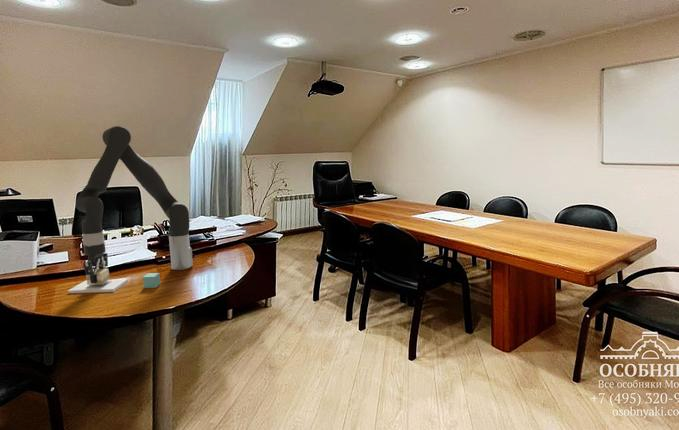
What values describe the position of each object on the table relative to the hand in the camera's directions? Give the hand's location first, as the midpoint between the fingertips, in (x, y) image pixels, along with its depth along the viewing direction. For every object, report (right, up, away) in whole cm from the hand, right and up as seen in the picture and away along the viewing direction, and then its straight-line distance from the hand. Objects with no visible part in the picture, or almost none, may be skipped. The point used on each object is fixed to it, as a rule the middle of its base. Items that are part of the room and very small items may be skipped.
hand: (98, 280), depth 156 cm
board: (0, -3, +1) cm, 3 cm away
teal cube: (+22, -3, +2) cm, 22 cm away
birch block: (0, -1, 0) cm, 1 cm away
